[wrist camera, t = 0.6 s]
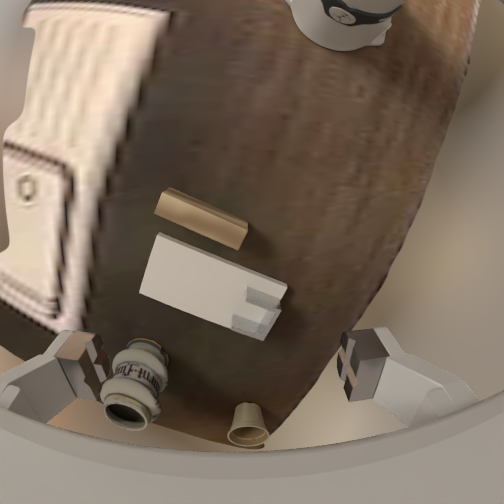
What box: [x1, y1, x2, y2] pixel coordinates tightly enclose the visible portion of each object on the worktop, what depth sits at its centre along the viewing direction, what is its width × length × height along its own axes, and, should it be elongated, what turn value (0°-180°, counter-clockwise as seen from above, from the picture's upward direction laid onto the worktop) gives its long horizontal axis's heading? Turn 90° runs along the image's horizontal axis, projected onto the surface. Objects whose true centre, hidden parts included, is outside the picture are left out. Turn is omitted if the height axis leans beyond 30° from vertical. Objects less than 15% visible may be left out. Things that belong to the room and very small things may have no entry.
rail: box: [154, 188, 248, 250], centre depth 46 cm, size 4×14×5 cm, turn 64°
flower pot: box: [228, 402, 269, 446], centre depth 62 cm, size 9×9×9 cm
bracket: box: [139, 232, 287, 341], centre depth 50 cm, size 12×24×6 cm, turn 66°
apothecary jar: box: [100, 338, 169, 431], centre depth 50 cm, size 12×12×18 cm
